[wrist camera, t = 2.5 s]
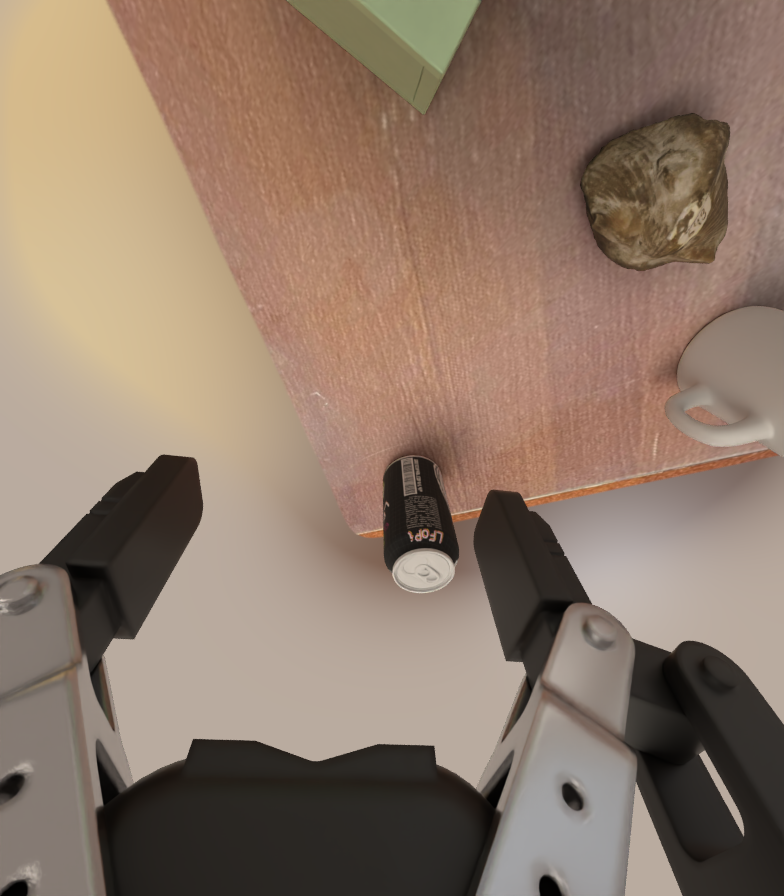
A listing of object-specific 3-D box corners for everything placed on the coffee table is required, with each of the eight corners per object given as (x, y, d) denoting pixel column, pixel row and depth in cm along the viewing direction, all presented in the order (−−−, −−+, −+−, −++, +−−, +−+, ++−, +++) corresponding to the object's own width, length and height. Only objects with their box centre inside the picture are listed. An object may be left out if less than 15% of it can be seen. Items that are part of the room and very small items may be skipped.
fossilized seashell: (548, 233, 24) (638, 306, 29) (654, 179, 18) (749, 281, 23) (585, 126, 25) (669, 214, 29) (703, 37, 19) (787, 165, 23)
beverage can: (410, 506, 40) (421, 609, 29) (370, 476, 37) (367, 575, 27) (452, 474, 38) (479, 572, 27) (413, 440, 35) (426, 533, 25)
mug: (790, 285, 29) (985, 321, 20) (780, 380, 33) (936, 447, 24) (628, 350, 31) (732, 410, 22) (637, 431, 36) (728, 510, 26)
